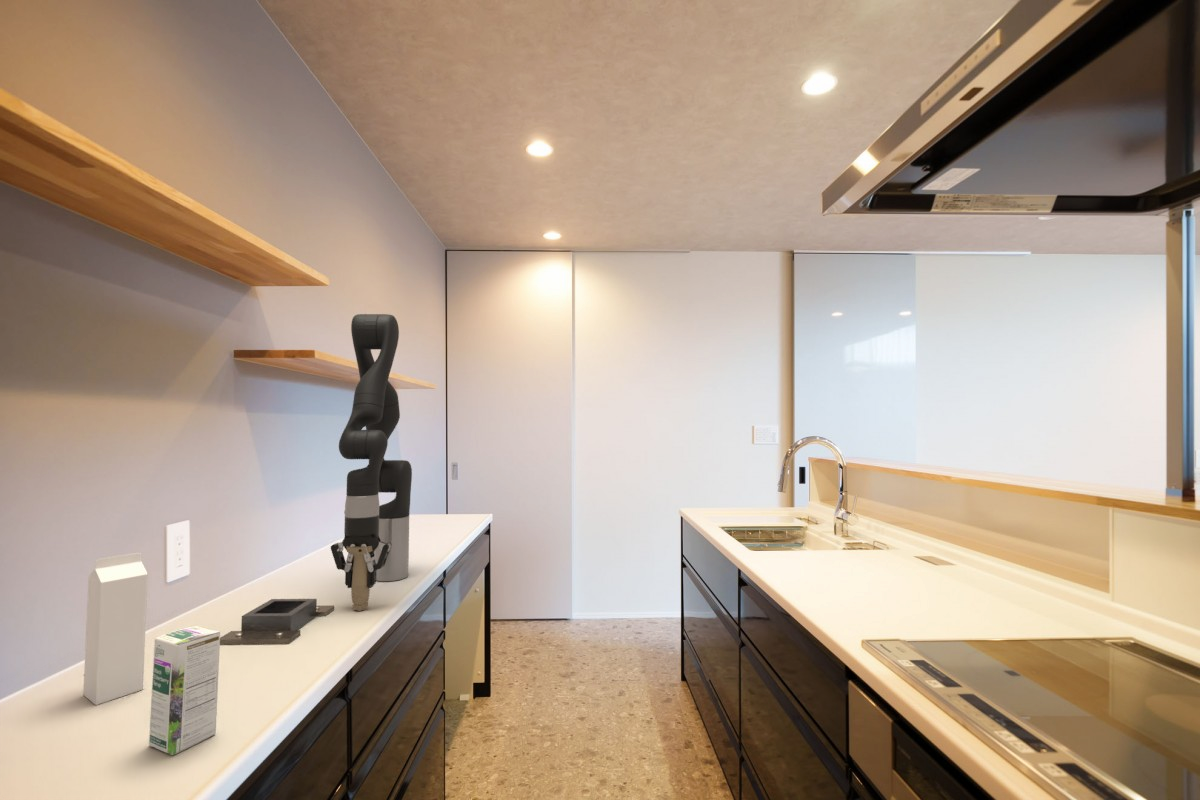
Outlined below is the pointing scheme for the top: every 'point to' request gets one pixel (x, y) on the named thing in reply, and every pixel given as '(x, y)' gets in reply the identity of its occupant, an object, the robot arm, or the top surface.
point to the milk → (115, 628)
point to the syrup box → (184, 688)
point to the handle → (359, 577)
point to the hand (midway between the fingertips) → (360, 586)
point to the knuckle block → (276, 622)
